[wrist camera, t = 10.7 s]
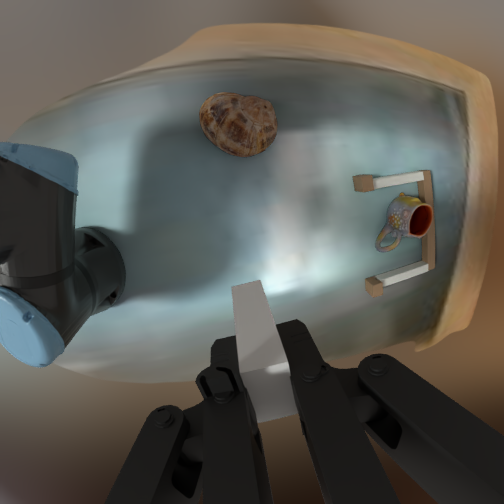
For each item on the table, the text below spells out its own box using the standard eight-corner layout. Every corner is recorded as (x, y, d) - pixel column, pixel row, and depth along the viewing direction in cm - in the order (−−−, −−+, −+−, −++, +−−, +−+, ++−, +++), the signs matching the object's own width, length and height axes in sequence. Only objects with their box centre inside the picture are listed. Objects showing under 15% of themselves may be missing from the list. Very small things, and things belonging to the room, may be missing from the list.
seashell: (260, 79, 36) (280, 94, 29) (270, 129, 43) (290, 155, 36) (192, 97, 36) (195, 117, 29) (208, 146, 43) (215, 176, 36)
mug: (404, 186, 43) (426, 190, 37) (419, 216, 45) (441, 223, 38) (357, 227, 45) (375, 237, 38) (375, 257, 46) (394, 269, 40)
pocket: (365, 290, 48) (373, 297, 45) (352, 176, 42) (361, 177, 39) (429, 268, 48) (438, 274, 45) (422, 165, 42) (433, 165, 39)
